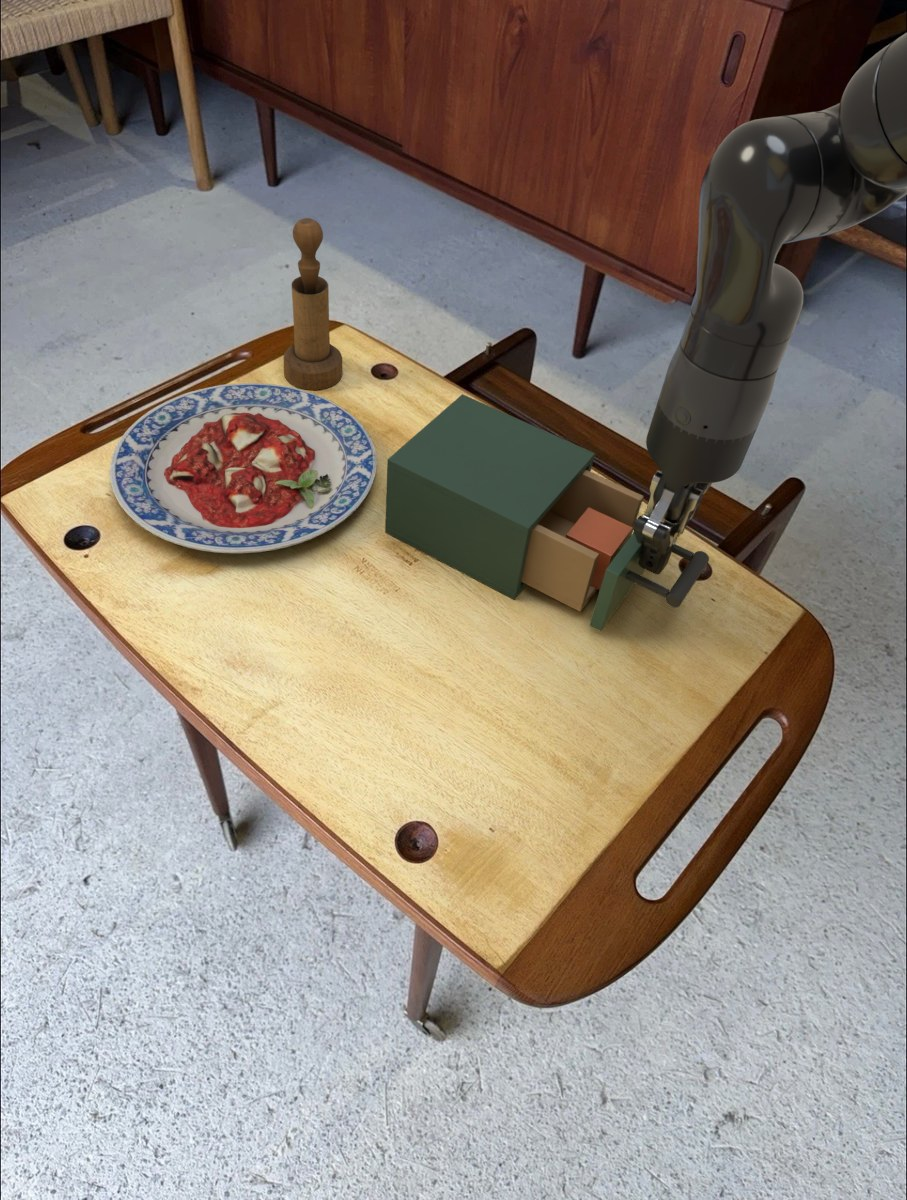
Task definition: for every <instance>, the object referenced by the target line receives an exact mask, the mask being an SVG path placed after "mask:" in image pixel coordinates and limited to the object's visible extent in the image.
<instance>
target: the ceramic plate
mask: <svg viewBox="0 0 907 1200" xmlns="http://www.w3.org/2000/svg"><path fill="white" fill-rule="evenodd" d="M110 459H111V460H110V465H109V481H110V486H111V489H112V492H113V495H114V496H115V498H116V500H117V502H118V504H119V506H120V507H121V508H122V509H123V511H124V512H125V513H126V515H127V516H129V517H130V519H131V520H132V521H134V522H135V524H137V525H139V526H140V527H141V528H142V529H144V530H146V531H147V532H149V533H150V534H152V535H154V536H156V537H158V538H160V539H162V540H164V541H167V542H170V543H172V544H175V545H177V546H182V547H184V548H188V549H193V550H197V551H203V552H208V553H209V552H210V553H218V554H219V553H220V554H221V553H222V554H251V553H253V554H254V553H262V552H268V551H275V550H279V549H285V548H288V547H292V546H295V545H299V544H302V543H304V542H307V541H310V540H313V539H314V538H317V537H319V536H321V535H323V534H325V533H327V532H328V531H330V530H332V529H334V528H336V527H337V526H338V525H340V524H341V523H342V522H344V521H345V520H347V519H348V518H349V517H350V516H351V515H352V514H353V513H354V512H355V511H356V510H357V509H359V507H360V506H361V505H362V504H363V502H364V500H365V499H366V498H367V496H368V495H369V493H370V491H371V489H372V487H373V483H374V481H375V478H376V477H375V476H376V473H377V454H376V449H375V445H374V443H373V440H372V438H371V436H370V434H369V433H368V431H367V430H366V429H365V427H364V426H363V424H362V423H361V422H360V421H359V420H358V419H357V418H356V417H354V415H353V414H351V413H350V412H349V411H347V410H346V409H345V408H343V407H342V406H340V405H338V404H337V403H335V402H334V401H332V400H330V399H328V398H326V397H324V396H321V395H319V394H316V393H313V392H310V391H308V390H305V389H301V388H298V387H294V386H288V385H280V384H272V383H263V382H262V383H261V382H245V383H243V382H242V383H226V384H218V385H214V386H209V387H205V388H200V389H196V390H192V391H188V392H185V393H182V394H180V395H178V396H175V397H173V398H171V399H168V400H166V401H164V402H163V403H161V404H158V405H157V406H156V407H153V408H152V409H150V410H149V411H147V412H145V413H144V414H143V415H142V416H140V417H139V418H138V419H137V420H136V421H134V422H133V423H132V424H131V426H129V427H128V429H126V431H125V432H124V433H123V435H122V436H121V437H120V439H119V440H118V442H117V444H116V446H115V447H114V450H113V453H112V456H111V458H110Z"/></svg>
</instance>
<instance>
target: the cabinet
mask: <svg viewBox="0 0 907 1200" xmlns="http://www.w3.org/2000/svg"><path fill="white" fill-rule="evenodd" d="M595 456H596V452H592V451H591V450H589V449H586V448H584V447H582V446H579V445H577V444H575V443H574V442H573V443H572V442H570V441H569V440H566V439H563V438H561V437H559V436H557V435H555V434H553V433H550V432H548V431H546V430H543V429H541V428H539V427H537V426H534V425H533V424H530V423H528V422H526V421H524V420H521V419H519V418H517V417H515V416H513V415H510V414H508V413H506V412H503V411H501V410H499V409H497V408H495V407H492V406H490V405H488V404H485V403H483V402H482V401H480V400H476V399H475V398H472V397H470V396H468V395H465V394H462V393H461V395H460V396H458V397H457V398H456V399H455V400H454V401H453V402H451V403H450V404H449V405H448V406H447V407H446V408H445V409H443V410H442V411H441V412H440V413H439V414H438V415H436V417H433V418H432V420H431V421H429V422H428V423H427V424H426V425H425V426H424V427H423V428H421V430H419V431H418V432H417V433H416V434H415V435H414V436H412V437H411V438H410V439H409V440H408V441H407V442H405V444H403V445H402V446H401V447H400V448H399V449H397V450H396V451H395V452H394V453H393V454H392V455H391V456H389V457H388V458H387V464H386V467H387V468H386V492H385V493H386V494H385V495H386V496H385V519H384V521H385V523H384V526H385V527H384V533H385V534H387V535H389V536H391V537H392V538H395V539H396V540H399V541H401V542H402V543H404V544H406V545H408V546H410V547H412V548H414V549H416V550H418V551H420V552H422V553H423V554H426V555H428V556H429V557H430V558H431V557H432V558H433V559H435V560H437V561H439V562H440V563H443V564H445V565H447V566H449V567H451V568H452V569H455V570H456V571H458V572H460V573H461V574H464V575H466V576H468V577H469V578H472V579H474V580H476V581H477V582H479V583H482V584H483V585H485V586H487V587H489V588H491V589H493V590H495V591H497V592H498V593H500V594H502V595H504V596H507V598H510V599H512V600H514V601H515V600H516V599H517V598H518V596H519V595H520V594H521V593H523V591H524V590H525V588H526V587H527V586H528V585H527V584H525V583H523V582H521V581H522V577H523V572H524V567H525V562H526V557H527V552H528V547H529V542H530V537H531V532H532V529H533V528H534V527H535V526H536V525H537V524H538V523H539V521H540V520H541V519H542V518H543V517H544V516H545V515H546V513H547V512H548V511H549V510H550V509H551V508H552V507H553V505H554V504H555V503H556V502H557V501H558V500H559V499H560V497H561V496H562V495H563V494H564V493H565V492H566V491H567V490H568V488H569V487H570V486H571V485H572V484H573V483H574V482H575V480H576V479H577V478H578V477H579V476H580V475H581V474H582V472H583V471H584V470H587V471H590V472H592V468H593V463H594V459H595Z"/></svg>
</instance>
